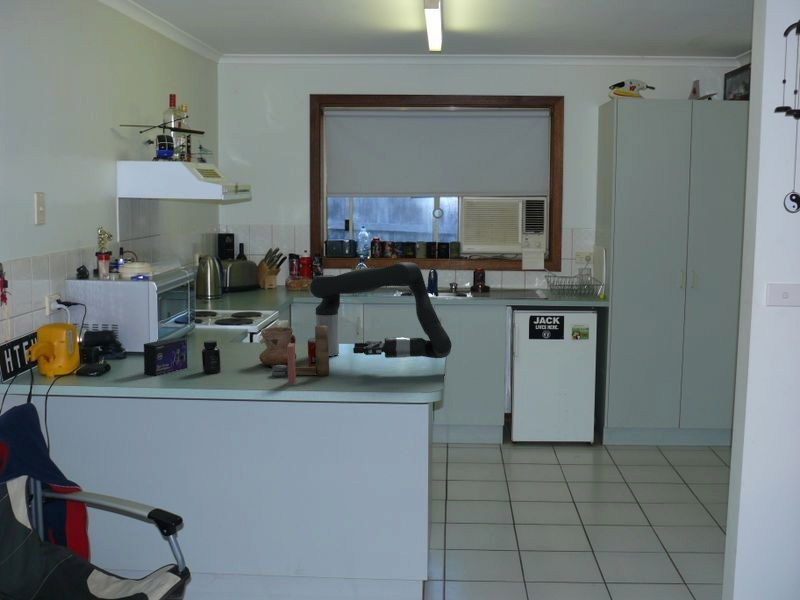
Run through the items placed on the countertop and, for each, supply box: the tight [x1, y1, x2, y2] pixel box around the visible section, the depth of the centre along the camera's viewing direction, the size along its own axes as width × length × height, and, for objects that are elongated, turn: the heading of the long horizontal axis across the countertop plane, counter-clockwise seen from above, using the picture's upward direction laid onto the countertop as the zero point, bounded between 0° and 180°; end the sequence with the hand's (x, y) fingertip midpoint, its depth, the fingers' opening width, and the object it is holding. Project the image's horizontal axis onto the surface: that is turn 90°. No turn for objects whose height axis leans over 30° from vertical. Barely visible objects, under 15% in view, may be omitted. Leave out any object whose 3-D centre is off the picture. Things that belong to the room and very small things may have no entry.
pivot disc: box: [271, 369, 288, 378], centre depth 332 cm, size 6×6×2 cm
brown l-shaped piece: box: [272, 325, 330, 377], centre depth 331 cm, size 5×21×18 cm, turn 90°
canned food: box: [307, 337, 316, 367], centre depth 347 cm, size 8×8×11 cm
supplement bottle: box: [201, 339, 222, 375], centre depth 340 cm, size 7×7×12 cm
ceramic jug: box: [259, 326, 297, 367], centre depth 352 cm, size 18×14×14 cm
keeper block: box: [286, 342, 298, 387], centre depth 319 cm, size 7×3×14 cm, turn 0°
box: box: [143, 336, 188, 376], centre depth 343 cm, size 17×7×12 cm, turn 149°
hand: (353, 348), depth 331 cm, fingers open, 8 cm apart
